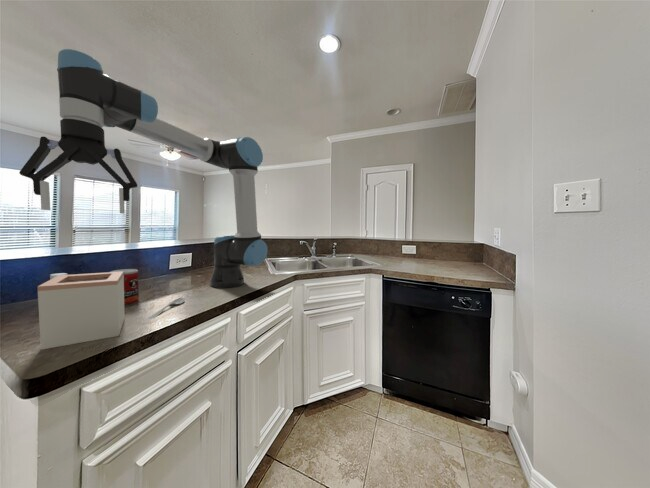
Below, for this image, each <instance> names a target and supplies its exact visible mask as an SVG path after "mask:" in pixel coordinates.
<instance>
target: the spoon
mask: <svg viewBox="0 0 650 488" xmlns="http://www.w3.org/2000/svg"><path fill="white" fill-rule="evenodd" d="M184 302H185V298H184V297H179V298H176V299H174V300H173V301H171V302H169V303H168V304H167V305H165V306H163V307H162V308H161V309H159V310H158V311H156V312H155V313H153V314H152V315H149V317H147V320H152V319H154V318H157V317H158V316H159V315H160V314H161V313H162V312H164V310H166V309H167V308H168V307H170V306H171V305H173V306H176V305H181V304H183V303H184Z"/></svg>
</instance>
